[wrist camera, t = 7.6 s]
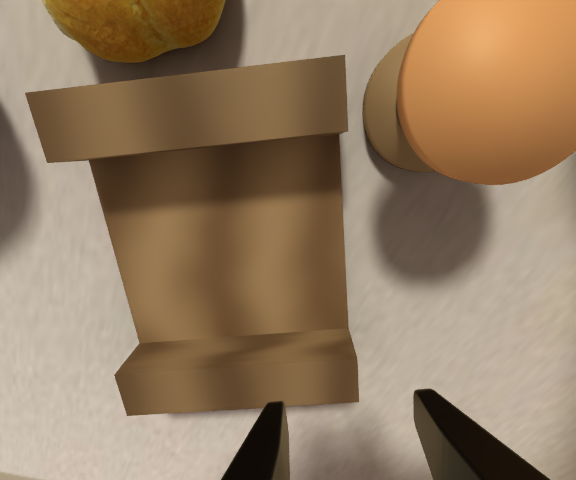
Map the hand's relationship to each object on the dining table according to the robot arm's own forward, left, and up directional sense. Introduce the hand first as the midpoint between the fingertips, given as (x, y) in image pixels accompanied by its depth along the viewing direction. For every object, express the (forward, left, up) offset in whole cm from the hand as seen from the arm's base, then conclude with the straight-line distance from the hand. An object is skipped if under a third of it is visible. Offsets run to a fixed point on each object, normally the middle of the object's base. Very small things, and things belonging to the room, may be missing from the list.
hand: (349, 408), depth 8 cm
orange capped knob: (-7, -8, -12) cm, 16 cm away
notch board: (+5, -1, -12) cm, 13 cm away
